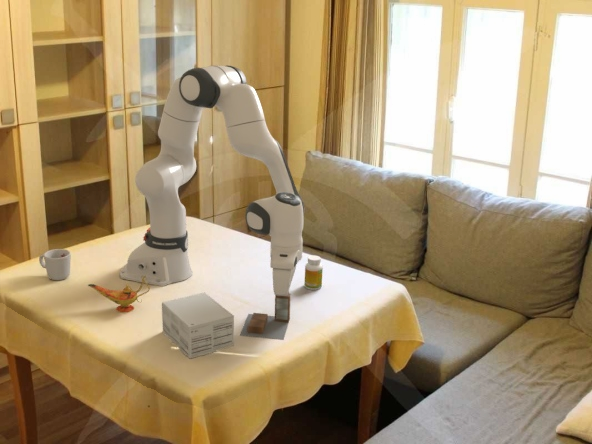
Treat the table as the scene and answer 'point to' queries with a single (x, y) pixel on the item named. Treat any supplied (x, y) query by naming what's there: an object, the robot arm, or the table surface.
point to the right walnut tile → (282, 308)
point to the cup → (56, 263)
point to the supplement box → (197, 324)
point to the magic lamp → (121, 296)
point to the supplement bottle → (313, 273)
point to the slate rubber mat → (267, 329)
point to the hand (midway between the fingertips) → (285, 296)
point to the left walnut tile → (257, 323)
